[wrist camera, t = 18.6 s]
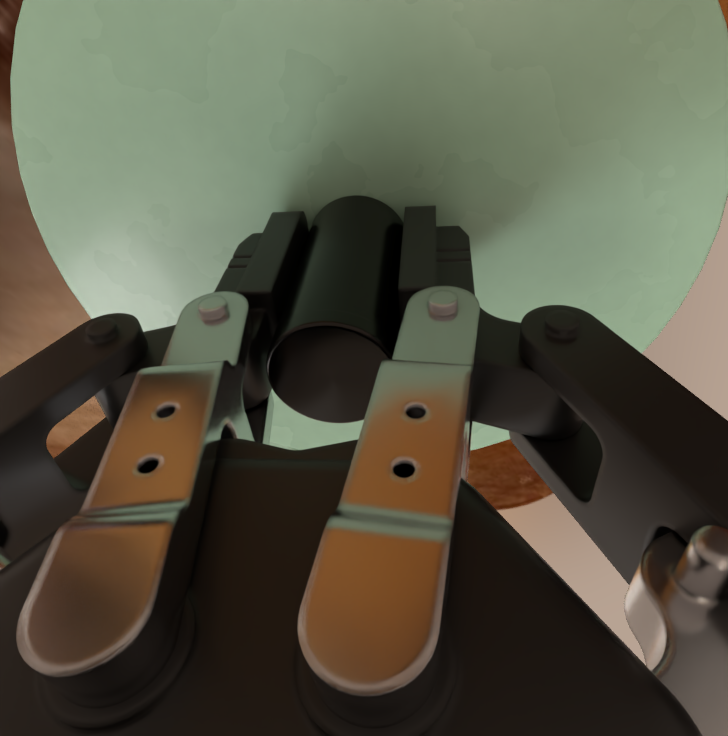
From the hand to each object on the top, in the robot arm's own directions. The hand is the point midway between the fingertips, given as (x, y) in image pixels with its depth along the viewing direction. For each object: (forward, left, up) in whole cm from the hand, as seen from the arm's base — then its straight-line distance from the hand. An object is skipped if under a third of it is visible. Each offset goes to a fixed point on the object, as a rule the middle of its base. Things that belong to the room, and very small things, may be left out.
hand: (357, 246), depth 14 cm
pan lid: (0, 0, -1) cm, 1 cm away
